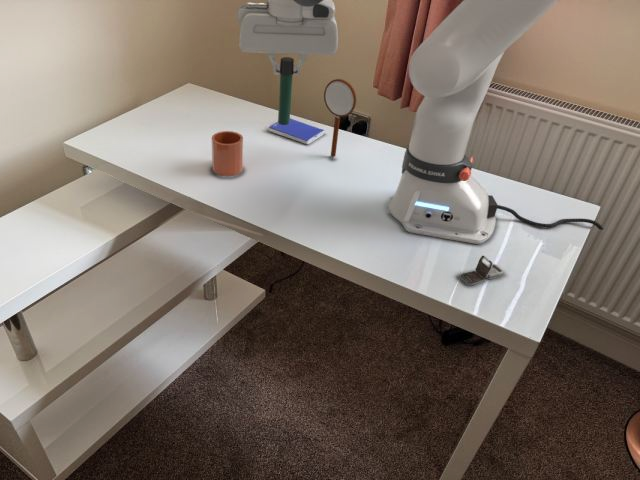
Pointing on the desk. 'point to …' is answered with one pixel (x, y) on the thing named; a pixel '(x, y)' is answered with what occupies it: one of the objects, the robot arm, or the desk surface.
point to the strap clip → (482, 272)
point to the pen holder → (227, 153)
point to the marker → (285, 90)
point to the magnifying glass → (339, 104)
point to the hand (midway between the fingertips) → (286, 73)
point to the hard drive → (297, 131)
